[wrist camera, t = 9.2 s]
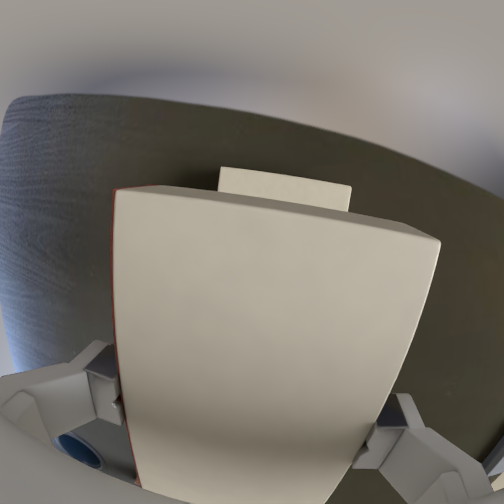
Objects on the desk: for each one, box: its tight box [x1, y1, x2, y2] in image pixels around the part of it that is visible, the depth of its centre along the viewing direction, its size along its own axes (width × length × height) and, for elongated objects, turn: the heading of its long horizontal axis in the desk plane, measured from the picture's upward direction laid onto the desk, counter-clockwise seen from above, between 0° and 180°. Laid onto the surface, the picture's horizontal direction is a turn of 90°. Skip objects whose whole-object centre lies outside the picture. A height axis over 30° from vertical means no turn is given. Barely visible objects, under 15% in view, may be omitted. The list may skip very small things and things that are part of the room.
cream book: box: [110, 184, 441, 504], centre depth 8 cm, size 11×7×2 cm, turn 172°
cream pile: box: [218, 167, 351, 212], centre depth 21 cm, size 12×8×4 cm, turn 172°
